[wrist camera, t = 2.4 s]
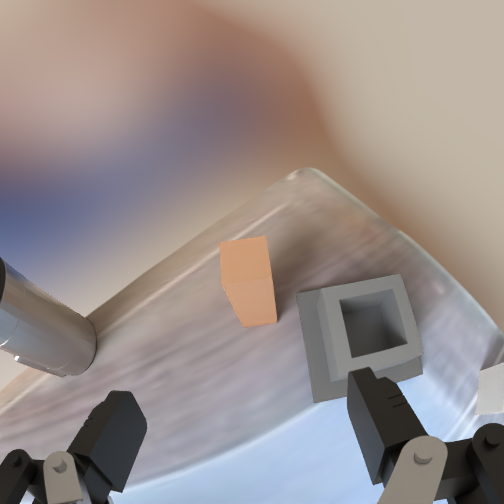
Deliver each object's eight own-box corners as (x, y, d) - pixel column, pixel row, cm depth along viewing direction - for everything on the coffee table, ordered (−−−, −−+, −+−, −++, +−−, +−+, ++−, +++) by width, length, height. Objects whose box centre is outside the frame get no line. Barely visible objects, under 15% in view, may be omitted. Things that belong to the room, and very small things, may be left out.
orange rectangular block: (277, 322, 32) (272, 277, 22) (243, 327, 32) (221, 284, 22) (272, 291, 34) (265, 235, 24) (240, 296, 34) (219, 242, 24)
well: (419, 375, 26) (443, 366, 21) (314, 403, 27) (320, 402, 22) (393, 278, 33) (409, 254, 28) (296, 296, 34) (297, 273, 28)
